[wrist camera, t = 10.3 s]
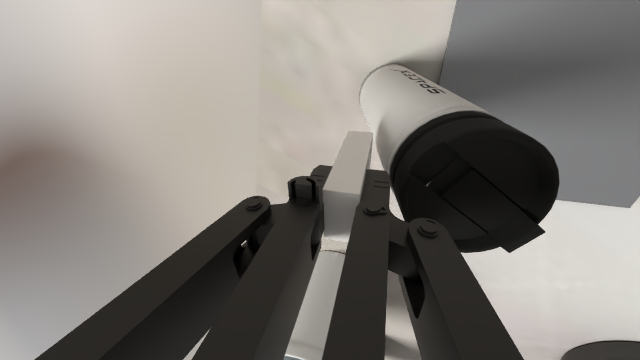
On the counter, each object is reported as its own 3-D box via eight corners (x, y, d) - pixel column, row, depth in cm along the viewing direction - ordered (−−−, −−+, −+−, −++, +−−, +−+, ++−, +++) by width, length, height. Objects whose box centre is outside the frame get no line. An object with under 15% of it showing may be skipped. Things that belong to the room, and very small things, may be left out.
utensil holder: (310, 297, 53) (279, 397, 39) (287, 248, 46) (239, 347, 32) (379, 301, 48) (372, 420, 34) (364, 247, 41) (347, 366, 27)
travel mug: (390, 134, 29) (470, 279, 12) (347, 100, 28) (373, 218, 11) (431, 90, 27) (607, 201, 10) (386, 50, 25) (508, 99, 8)
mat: (847, -70, 16) (862, -73, 15) (625, 204, 27) (629, 208, 27) (465, -39, 21) (467, -41, 20) (416, 181, 32) (417, 184, 32)
